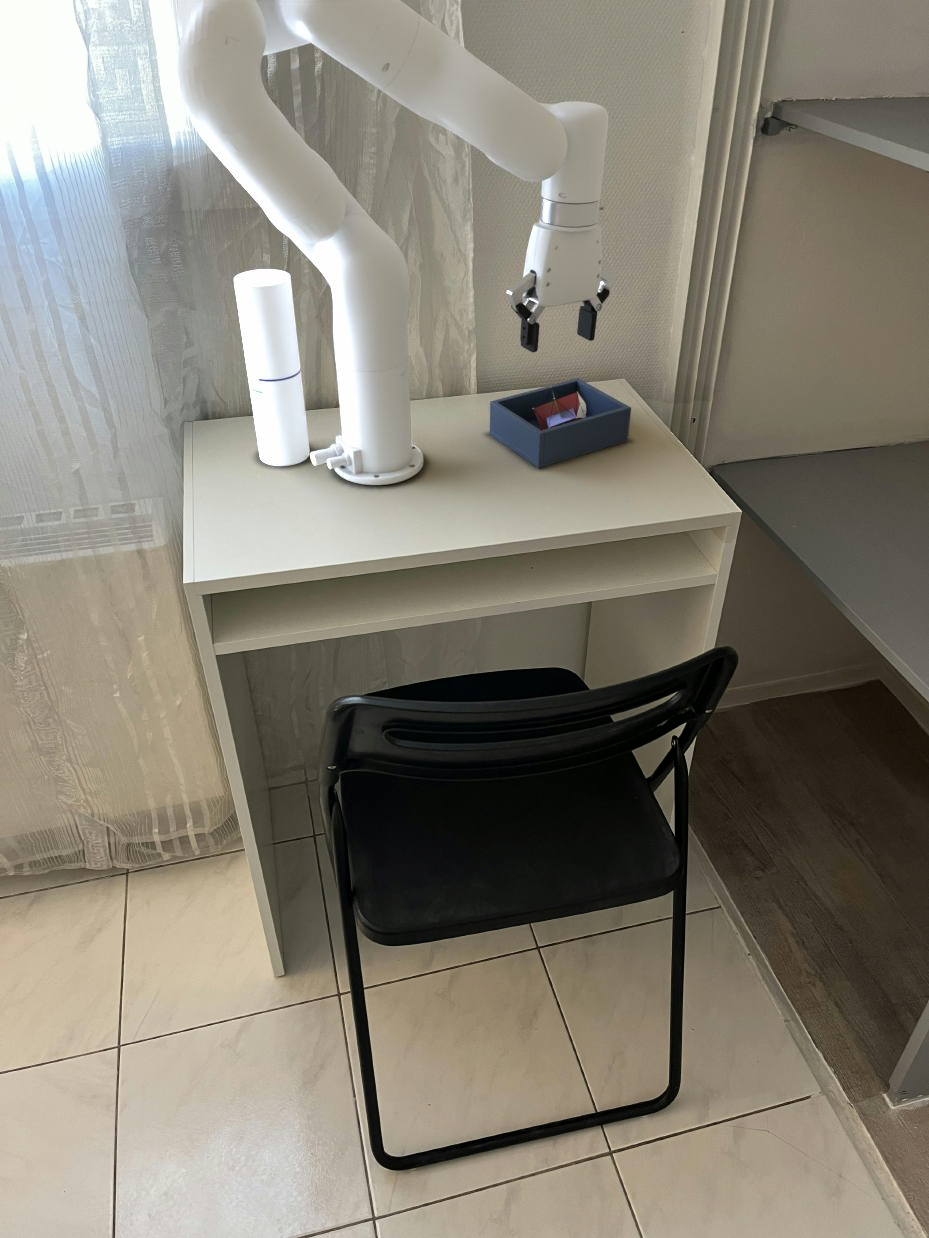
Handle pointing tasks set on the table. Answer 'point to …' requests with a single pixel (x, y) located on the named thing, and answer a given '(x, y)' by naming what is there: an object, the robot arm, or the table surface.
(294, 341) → the cylindrical container
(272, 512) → the table surface
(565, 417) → the geometric puzzle
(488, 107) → the robot arm
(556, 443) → the bin
